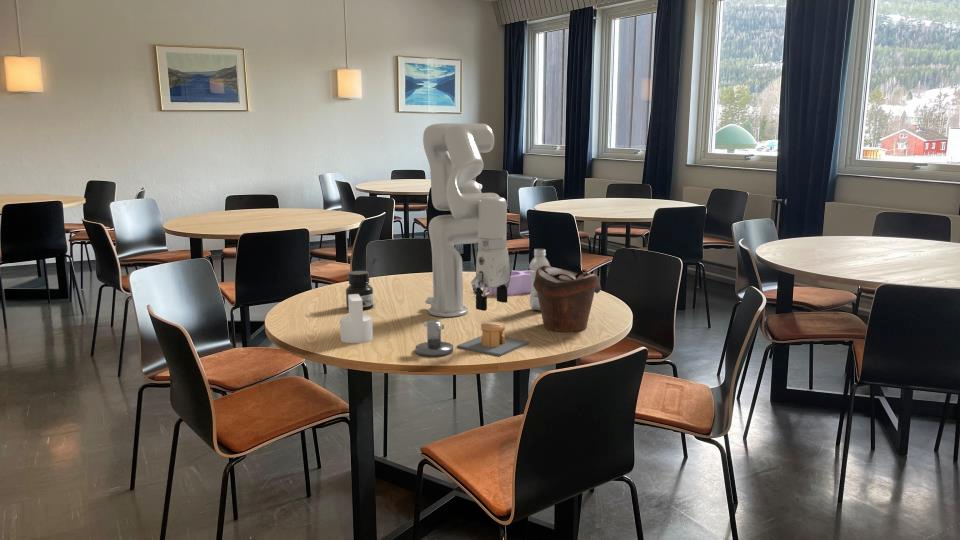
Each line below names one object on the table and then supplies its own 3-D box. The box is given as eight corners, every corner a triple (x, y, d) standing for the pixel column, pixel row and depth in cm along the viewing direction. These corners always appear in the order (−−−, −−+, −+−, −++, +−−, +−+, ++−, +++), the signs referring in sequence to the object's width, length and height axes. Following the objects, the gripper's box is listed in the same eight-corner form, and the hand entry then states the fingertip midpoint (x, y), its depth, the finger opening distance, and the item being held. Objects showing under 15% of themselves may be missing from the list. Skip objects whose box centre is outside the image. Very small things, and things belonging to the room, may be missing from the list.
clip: (536, 287, 267) (536, 269, 266) (544, 294, 255) (545, 275, 254) (484, 289, 264) (484, 271, 263) (490, 296, 252) (490, 277, 251)
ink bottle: (353, 312, 230) (352, 276, 228) (340, 307, 237) (339, 272, 235) (379, 307, 237) (378, 272, 234) (366, 303, 243) (364, 269, 241)
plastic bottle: (549, 312, 227) (549, 251, 223) (528, 312, 228) (528, 251, 225) (551, 308, 233) (551, 248, 229) (530, 307, 235) (530, 247, 231)
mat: (457, 347, 191) (457, 345, 191) (487, 335, 202) (487, 333, 202) (500, 356, 183) (500, 354, 183) (528, 343, 194) (528, 341, 194)
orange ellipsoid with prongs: (476, 344, 191) (476, 324, 190) (490, 338, 197) (489, 319, 196) (495, 348, 188) (495, 328, 187) (509, 342, 193) (509, 322, 192)
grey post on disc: (407, 352, 187) (406, 323, 185) (432, 343, 195) (431, 315, 193) (437, 359, 181) (436, 329, 179) (460, 349, 189) (460, 320, 187)
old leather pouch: (607, 333, 202) (607, 271, 199) (538, 336, 201) (537, 274, 198) (592, 318, 220) (593, 261, 217) (528, 321, 218) (528, 264, 215)
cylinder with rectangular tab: (375, 341, 197) (373, 299, 195) (342, 344, 195) (340, 302, 193) (370, 333, 206) (369, 293, 204) (339, 335, 203) (337, 295, 201)
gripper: (484, 250, 178) (484, 315, 182) (521, 240, 192) (520, 301, 196) (461, 246, 183) (461, 310, 186) (498, 237, 196) (498, 297, 200)
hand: (491, 305), depth 191 cm, fingers open, 9 cm apart
